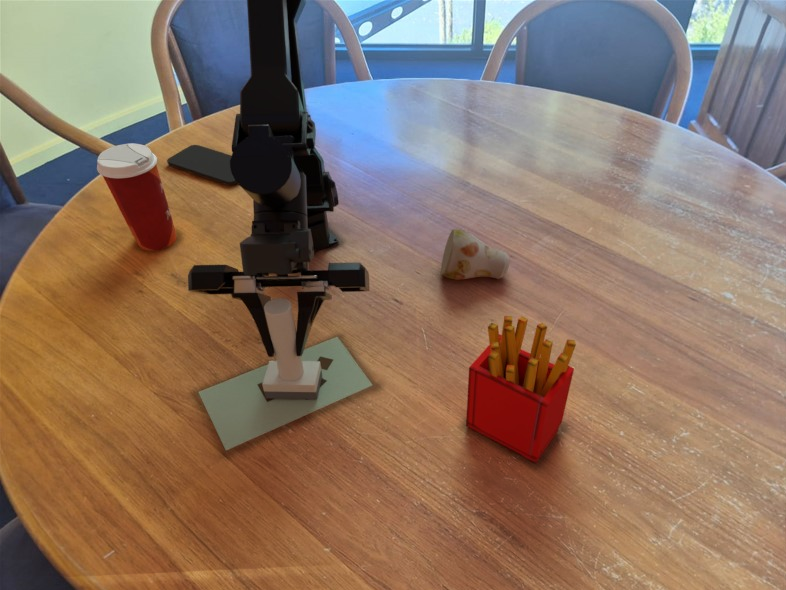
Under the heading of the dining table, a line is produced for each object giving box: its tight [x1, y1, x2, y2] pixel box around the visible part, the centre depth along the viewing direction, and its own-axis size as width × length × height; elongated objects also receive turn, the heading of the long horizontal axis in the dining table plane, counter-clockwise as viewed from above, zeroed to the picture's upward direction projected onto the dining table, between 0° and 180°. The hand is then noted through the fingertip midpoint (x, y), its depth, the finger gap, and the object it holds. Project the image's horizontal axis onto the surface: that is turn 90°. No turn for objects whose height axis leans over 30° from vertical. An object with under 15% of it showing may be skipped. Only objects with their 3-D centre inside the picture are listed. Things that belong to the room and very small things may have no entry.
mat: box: [198, 336, 373, 451], centre depth 74 cm, size 10×18×1 cm, turn 124°
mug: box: [440, 228, 510, 281], centre depth 89 cm, size 8×10×10 cm
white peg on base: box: [262, 297, 322, 399], centre depth 70 cm, size 6×4×12 cm, turn 91°
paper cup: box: [96, 142, 178, 252], centre depth 90 cm, size 8×8×14 cm
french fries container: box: [465, 315, 577, 464], centre depth 67 cm, size 7×9×14 cm
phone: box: [166, 144, 238, 186], centre depth 110 cm, size 7×1×15 cm
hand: (285, 356), depth 69 cm, fingers closed on white peg on base, 3 cm apart
